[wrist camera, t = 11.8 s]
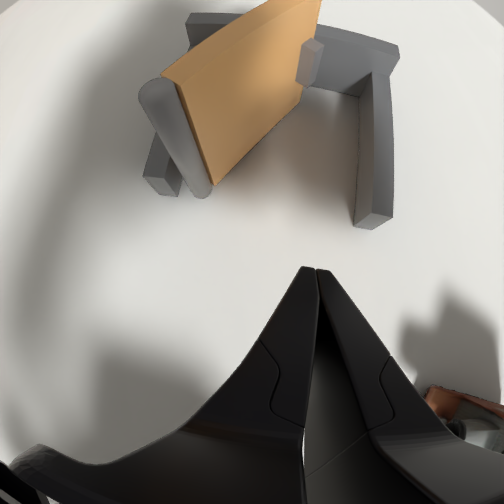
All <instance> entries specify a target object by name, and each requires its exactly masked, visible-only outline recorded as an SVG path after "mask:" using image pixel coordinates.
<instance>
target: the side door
mask: <svg viewBox="0 0 504 504" xmlns="http://www.w3.org/2000/svg"><path fill="white" fill-rule="evenodd" d="M321 1H322V0H268V1H267V2H265V3H263V4H261V5H259V6H258V7H256V8H254V9H252V10H251V11H249V12H247V13H246V14H244V15H242V16H241V17H239V18H237V19H236V20H234V21H232V22H231V23H229V24H228V25H226V26H225V27H223V28H222V29H220V30H219V31H217V32H216V33H214V34H213V35H211V36H210V37H208V38H207V39H205V40H204V41H202V42H201V43H200V44H198V45H197V46H195V47H194V48H193V49H191V50H190V51H189V52H187V53H186V54H185V55H183V56H182V57H181V58H179V59H178V60H177V61H176V62H174V63H173V64H172V65H171V66H169V67H168V68H167V69H166V70H164V71H163V72H162V73H161V77H162V78H156V79H153V80H151V81H149V82H147V83H146V84H145V85H144V86H143V87H142V88H141V89H140V91H139V94H138V99H139V102H140V103H141V105H142V107H143V109H144V110H145V112H146V114H147V116H148V118H149V119H150V121H151V123H152V125H153V126H154V128H155V130H156V132H157V133H158V135H159V137H160V139H161V140H162V142H163V144H164V146H165V147H166V149H167V151H168V152H169V154H170V156H171V158H172V159H173V161H174V163H175V165H176V166H177V168H178V170H179V171H180V173H181V175H182V177H183V178H184V180H185V182H186V183H187V185H188V187H189V189H190V190H191V192H192V194H193V195H194V196H195V197H196V198H199V199H203V198H206V197H208V196H209V195H210V193H211V191H212V185H211V183H212V184H213V185H214V186H216V185H217V184H218V183H219V182H220V181H221V180H222V179H223V177H224V176H225V175H226V174H227V173H228V172H229V171H230V170H231V169H232V168H233V167H234V166H235V165H236V164H237V163H238V162H239V161H240V160H241V159H242V158H243V157H244V156H245V155H246V154H247V153H248V152H249V151H250V150H251V149H252V148H253V147H254V146H255V145H256V144H257V143H258V142H259V141H260V140H261V139H262V138H263V137H264V136H265V135H266V134H267V133H268V132H269V131H270V130H271V129H272V128H273V127H274V126H275V125H276V124H277V123H278V122H279V121H280V120H281V119H282V118H283V117H284V116H285V115H286V114H288V113H289V112H290V111H291V110H292V109H293V108H294V107H295V106H296V105H297V104H298V103H299V102H300V99H301V94H302V90H303V86H304V87H305V88H308V87H309V86H310V85H311V84H312V83H313V82H315V79H316V76H317V72H318V68H319V64H320V61H321V57H322V53H323V49H324V45H323V44H322V43H320V42H318V41H316V40H314V35H315V30H316V25H317V20H318V16H319V11H320V6H321Z"/></svg>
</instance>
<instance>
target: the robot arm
mask: <svg viewBox="0 0 504 504" xmlns="http://www.w3.org/2000/svg"><path fill="white" fill-rule="evenodd" d="M303 435H304V465H303V455H302V446H303ZM46 496H48V497H50V498H51V499H53V500H55V501H57V502H59V504H504V454H501V453H497V452H494V451H491V450H488V449H485V448H483V447H480V446H477V445H474V444H471V443H469V442H466V441H464V440H462V439H460V438H458V437H457V436H456V435H454V434H453V433H452V432H451V431H450V430H449V429H448V428H447V427H446V426H445V424H444V423H443V422H442V421H441V419H440V418H439V417H438V416H437V414H436V413H435V412H434V411H433V409H432V408H431V407H430V406H429V404H428V403H427V402H426V401H425V400H424V398H423V397H422V396H421V395H420V393H419V392H418V391H417V390H416V388H415V387H414V386H413V385H412V383H411V382H410V381H409V379H408V378H407V377H406V375H405V374H404V372H403V371H402V370H401V368H400V367H399V365H398V364H397V363H396V361H395V360H394V358H393V357H392V356H390V353H389V351H388V350H387V348H386V347H385V345H384V344H383V343H382V341H381V340H380V338H379V337H378V335H377V334H376V333H375V331H374V330H373V328H372V327H371V326H370V324H369V323H368V321H367V320H366V319H365V317H364V316H363V314H362V313H361V312H360V310H359V309H358V308H357V306H356V305H355V304H354V302H353V301H352V299H351V298H350V297H349V295H348V294H347V293H346V291H345V290H344V289H343V287H342V286H341V285H340V283H339V282H338V281H337V279H336V278H335V277H334V275H333V274H332V273H331V272H330V271H329V270H323V269H316V270H315V269H314V268H311V267H305V266H301V267H300V269H299V271H298V272H297V274H296V276H295V277H294V279H293V281H292V283H291V284H290V286H289V288H288V289H287V291H286V293H285V294H284V296H283V298H282V299H281V301H280V303H279V304H278V306H277V308H276V309H275V311H274V313H273V314H272V316H271V318H270V319H269V321H268V322H267V324H266V326H265V327H264V329H263V331H262V332H261V334H260V335H259V337H258V339H257V340H256V341H255V343H254V345H253V346H252V348H251V349H250V351H249V352H248V354H247V355H246V357H245V358H244V359H243V361H242V362H241V364H240V365H239V366H238V367H237V369H236V370H235V371H234V372H233V373H232V375H231V376H230V377H229V378H228V379H227V380H226V381H225V383H224V384H223V385H222V386H221V387H220V388H219V389H218V390H217V391H216V392H215V393H214V394H213V395H212V396H211V397H210V399H209V400H208V401H207V402H206V403H205V404H204V405H203V406H202V407H201V408H200V409H199V410H198V411H197V412H196V413H195V414H194V415H193V416H192V417H191V418H190V419H189V420H187V421H186V422H185V423H184V424H183V425H181V426H180V427H179V428H177V429H176V430H174V431H173V432H171V433H169V434H167V435H165V436H163V437H161V438H160V439H158V440H156V441H154V442H152V443H150V444H148V445H146V446H144V447H142V448H140V449H138V450H136V451H134V452H132V453H130V454H128V455H126V456H124V457H121V458H119V459H117V460H115V461H112V462H109V463H105V464H86V463H83V462H79V461H77V460H75V459H72V458H70V457H68V456H66V455H64V454H62V453H60V452H58V451H56V450H54V449H52V448H50V447H48V446H45V445H43V444H37V445H36V446H34V447H32V448H31V449H29V450H27V451H25V452H24V453H22V454H21V455H19V456H18V457H17V458H15V459H14V460H13V461H12V463H11V464H10V465H9V466H8V465H6V464H5V463H3V462H2V461H1V460H0V504H50V503H49V501H48V499H47V497H46Z"/></svg>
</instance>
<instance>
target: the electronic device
mask: <svg viewBox="0 0 504 504" xmlns="http://www.w3.org/2000/svg"><path fill="white" fill-rule="evenodd" d="M424 400H425V401H426V402H427V403H428V404H429V406H430V407H431V408H432V409H433V411H434V412H435V413H436V414H437V416H438V417H439V418H440V419H441V421H442V422H443V423H444V424H445V426H446V427H447V428H448V429H449V430H450V431H451V432H452V433H453V434H454V435H456V436H457V437H458V438H460V439H462V440H464V441H466V442H469V443H471V444H474V445H477V446H480V447H483V448H485V449H488V450H491V451H494V452H497V453H501V454H504V405H501V404H497V403H494V402H490V401H487V400H484V399H480V398H478V397H475V396H471V395H468V394H463V393H460V392H456V391H455V390H448V389H445V388H443V387H441V386H436V385H431V386H430V387H429V389H428V390H427V392H426V395H425V397H424Z"/></svg>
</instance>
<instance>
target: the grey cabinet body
mask: <svg viewBox="0 0 504 504" xmlns="http://www.w3.org/2000/svg"><path fill="white" fill-rule="evenodd" d="M242 15H244V14H231V13H191V14H190V16H189V18H188V19H187V21H186V23H185V25H186V29H187V33H188V37H189V41H190V47H189V49H188V51H187V52H189V51H190V50H191V49H193V48H194V47H195V46H197V45H198V44H200V43H201V42H202V41H204V40H205V39H207V38H208V37H210V36H211V35H213V34H214V33H216V32H217V31H219V30H220V29H222V28H223V27H225V26H226V25H228V24H229V23H231V22H232V21H234V20H236V19H237V18H239V17H241V16H242ZM314 40H316V41H318V42H320V43H322V44H323V45H324V49H323V53H322V57H321V61H320V64H319V68H318V72H317V76H316V79H315V82H313V83H312V84H311V85H310V86H313V87H318V88H323V89H327V90H332V91H336V92H341V93H345V94H349V95H353V96H357V97H359V150H358V172H357V188H356V202H355V214H354V225H353V226H354V227H359V228H364V229H369V230H373V229H375V228H376V227H378V226H380V225H381V224H383V223H385V222H386V221H388V220H390V219H391V218H393V200H394V137H393V116H392V101H391V89H390V79H389V76H390V75H391V73H392V71H393V69H394V68H395V66H396V64H397V62H398V60H399V59H400V54H399V49H398V46H397V45H395V44H392V43H389V42H386V41H382V40H379V39H376V38H373V37H369V36H366V35H362V34H359V33H355V32H351V31H347V30H343V29H339V28H334V27H330V26H325V25H320V24H317V25H316V30H315V35H314ZM143 177H144V178H145V179H146V181H147V182H148V183H149V184H150V185H151V186H152V187H153V188H154V189H155V191H156V192H157V193H158V194H159V195H167V196H174V197H178V194H179V190H180V186H181V182H182V178H183V177H182V175H181V173H180V171H179V170H178V168H177V166H176V165H175V163H174V161H173V159H172V158H171V156H170V154H169V152H168V151H167V149H166V147H165V146H164V144H163V142H162V140H161V139H160V137H159V135H158V133H157V132H156V134H155V137H154V140H153V143H152V146H151V150H150V153H149V156H148V159H147V162H146V166H145V169H144V173H143Z"/></svg>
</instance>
